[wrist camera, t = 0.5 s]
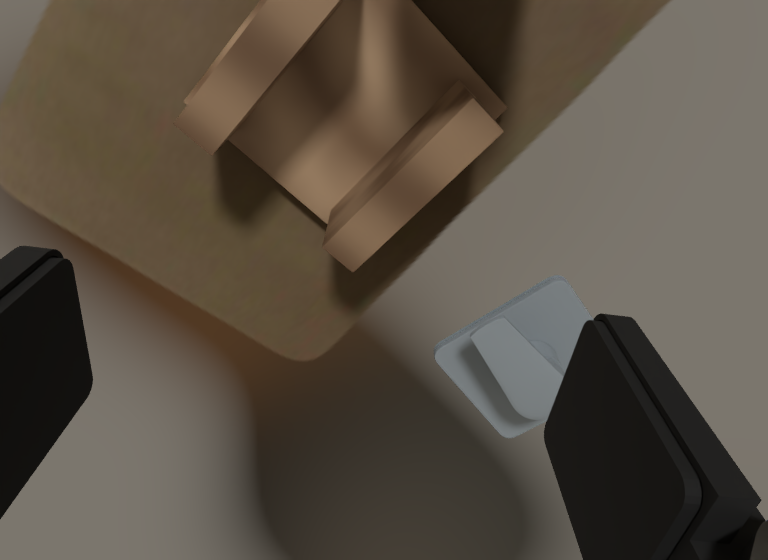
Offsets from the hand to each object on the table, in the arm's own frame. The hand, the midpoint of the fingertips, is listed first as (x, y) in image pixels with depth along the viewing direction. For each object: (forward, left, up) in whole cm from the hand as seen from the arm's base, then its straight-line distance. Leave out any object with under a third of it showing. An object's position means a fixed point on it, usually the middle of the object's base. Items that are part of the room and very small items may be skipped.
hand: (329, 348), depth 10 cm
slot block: (+2, 0, -28) cm, 28 cm away
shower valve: (+7, +24, -29) cm, 38 cm away
